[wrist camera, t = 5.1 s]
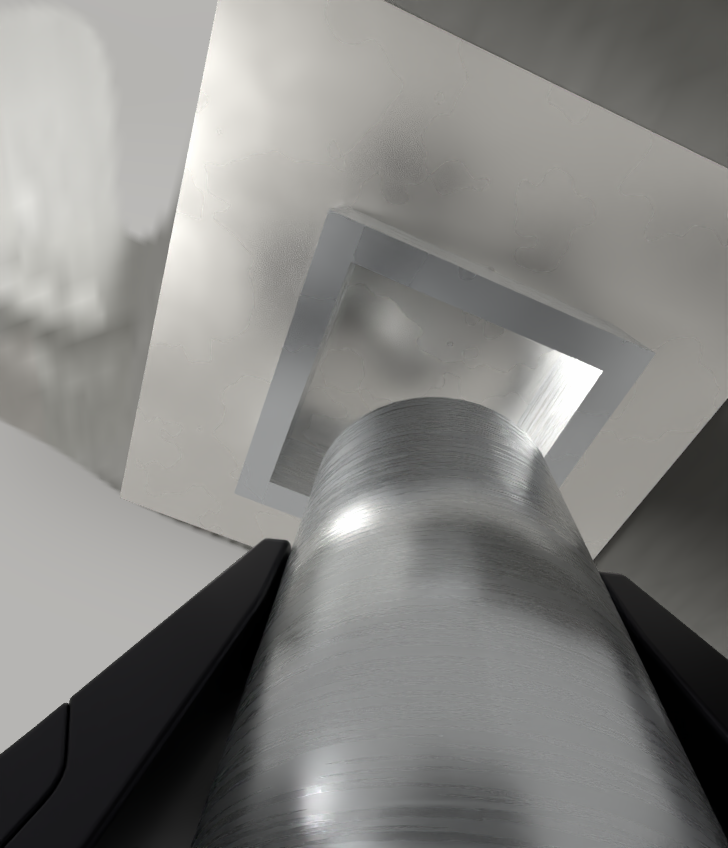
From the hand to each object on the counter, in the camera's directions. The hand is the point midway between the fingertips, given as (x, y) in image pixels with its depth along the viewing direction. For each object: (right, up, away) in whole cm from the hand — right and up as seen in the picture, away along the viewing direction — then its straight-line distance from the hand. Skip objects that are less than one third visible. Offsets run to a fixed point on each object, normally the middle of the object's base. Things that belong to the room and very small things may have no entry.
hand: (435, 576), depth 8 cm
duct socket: (+1, +4, +7) cm, 8 cm away
